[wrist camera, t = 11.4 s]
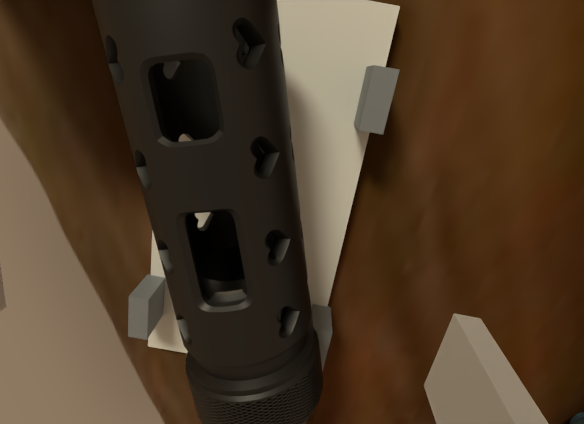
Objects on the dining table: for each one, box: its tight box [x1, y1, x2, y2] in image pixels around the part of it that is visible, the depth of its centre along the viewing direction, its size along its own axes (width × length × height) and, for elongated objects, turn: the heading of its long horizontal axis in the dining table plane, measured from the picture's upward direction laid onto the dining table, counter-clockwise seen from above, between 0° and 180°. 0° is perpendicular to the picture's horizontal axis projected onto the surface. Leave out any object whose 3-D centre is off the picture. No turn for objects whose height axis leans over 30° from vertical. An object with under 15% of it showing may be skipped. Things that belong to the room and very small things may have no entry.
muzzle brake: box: [92, 0, 323, 424], centre depth 24 cm, size 10×28×10 cm, turn 6°
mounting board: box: [128, 0, 400, 371], centre depth 29 cm, size 32×17×5 cm, turn 170°
